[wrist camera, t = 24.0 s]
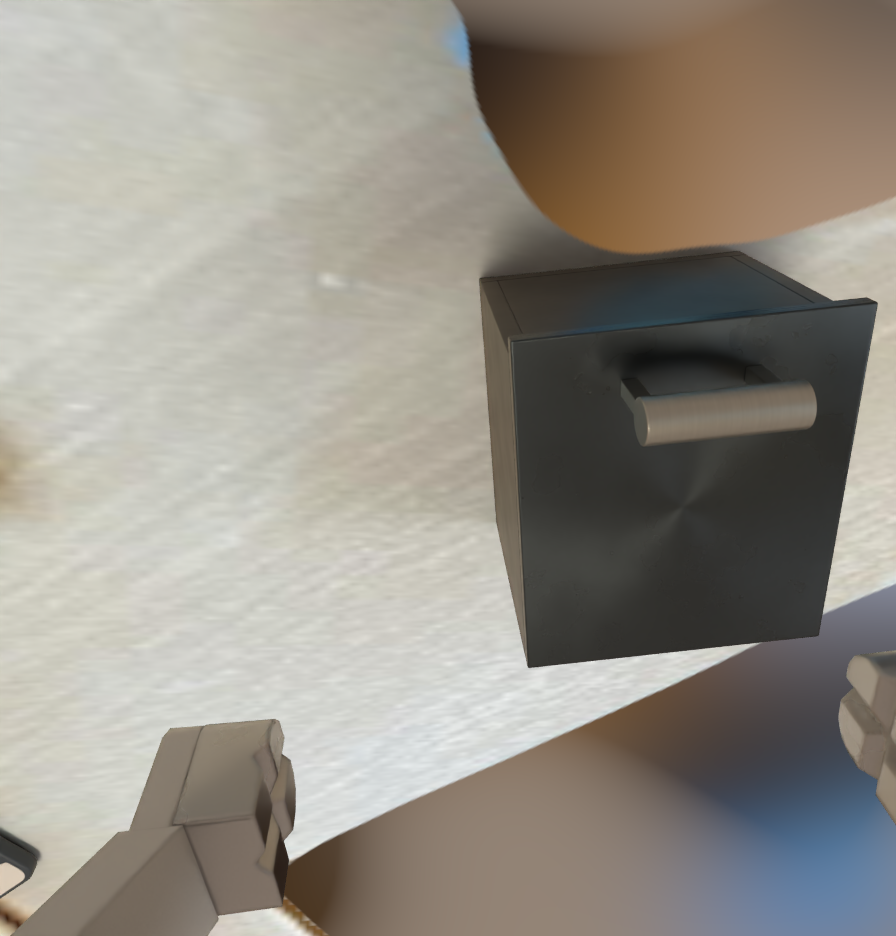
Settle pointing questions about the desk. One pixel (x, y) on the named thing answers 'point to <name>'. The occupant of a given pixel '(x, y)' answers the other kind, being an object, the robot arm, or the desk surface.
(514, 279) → the waste bin
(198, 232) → the desk surface
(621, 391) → the bin lid
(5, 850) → the phone case
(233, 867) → the robot arm
